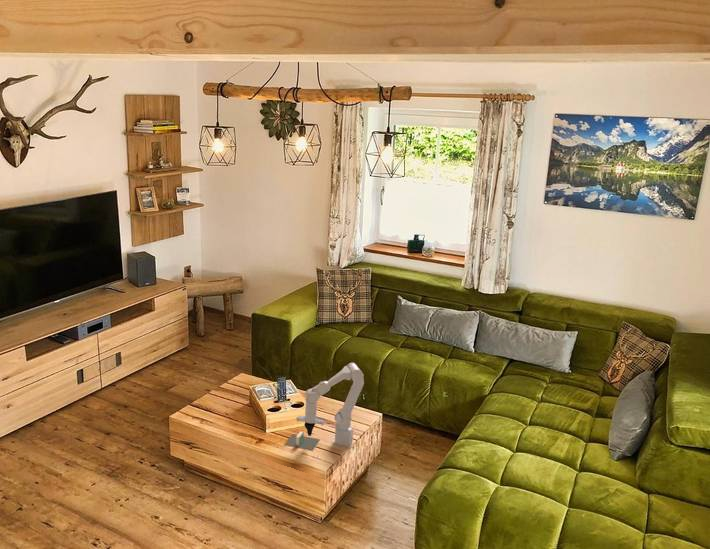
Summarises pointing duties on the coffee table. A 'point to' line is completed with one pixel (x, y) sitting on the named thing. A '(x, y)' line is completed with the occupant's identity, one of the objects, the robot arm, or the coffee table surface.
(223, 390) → the coffee table surface
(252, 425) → the coffee table surface
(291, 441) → the mat
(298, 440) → the tile
